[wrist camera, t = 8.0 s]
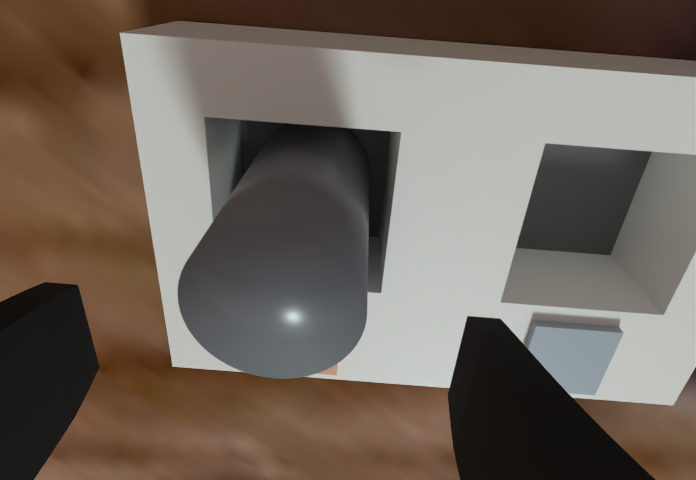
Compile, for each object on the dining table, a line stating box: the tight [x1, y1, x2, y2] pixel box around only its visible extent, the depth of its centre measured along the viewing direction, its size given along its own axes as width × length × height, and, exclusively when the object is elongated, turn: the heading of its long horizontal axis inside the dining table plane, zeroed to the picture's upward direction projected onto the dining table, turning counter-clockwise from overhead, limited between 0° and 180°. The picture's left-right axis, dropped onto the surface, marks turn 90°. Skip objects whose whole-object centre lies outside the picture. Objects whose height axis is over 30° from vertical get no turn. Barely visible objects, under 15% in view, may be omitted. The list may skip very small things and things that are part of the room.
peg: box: [177, 123, 370, 379], centre depth 13 cm, size 4×4×8 cm
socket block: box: [120, 21, 696, 405], centre depth 16 cm, size 18×11×4 cm, turn 86°
